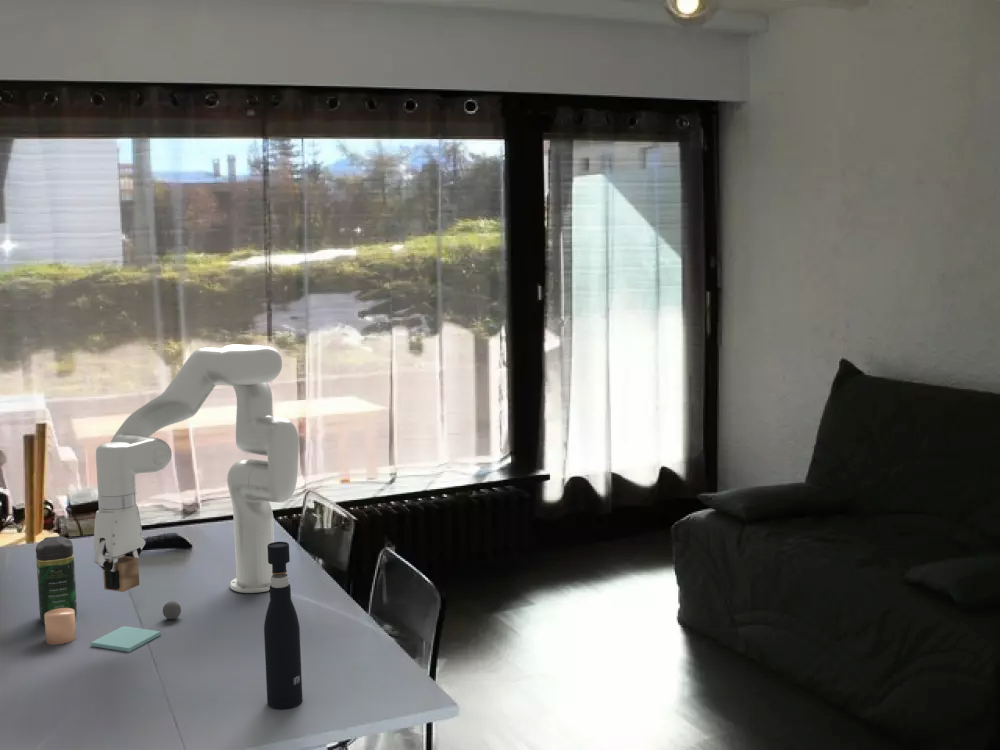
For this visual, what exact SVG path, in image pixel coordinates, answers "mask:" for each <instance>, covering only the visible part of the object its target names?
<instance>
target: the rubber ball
mask: <svg viewBox="0 0 1000 750" xmlns="http://www.w3.org/2000/svg"><path fill="white" fill-rule="evenodd" d="M181 613H182V608H181V605H180V604H179V602H176V601H174V600H172V601H168V602H166V603H165V604H164V605H163V607H162V615H163V616H164V617H165V618H166V619H168V620H175V619H177V618H178V617H179V616H180V615H181Z"/></svg>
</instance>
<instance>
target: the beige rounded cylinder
mask: <svg viewBox="0 0 1000 750" xmlns="http://www.w3.org/2000/svg"><path fill="white" fill-rule="evenodd" d="M44 618H45V624H44V629H45V630H44V631H45V642H46V644H48V645H52V646H53V645H54V646H55V645H57V644H59V645H64V643H65V644H68V643H72V642H73V641H74V640H76V639H77V628H76V617H75V611H74V609H72V608H58V609H53V610H50V611H48V612H46V613H45V614H44ZM57 646H58V645H57Z"/></svg>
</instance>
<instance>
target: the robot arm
mask: <svg viewBox="0 0 1000 750" xmlns="http://www.w3.org/2000/svg"><path fill="white" fill-rule="evenodd" d="M282 367H283V360H282V356H281V354H280V353H279V351H278V350H277V349H275V348H274V347H273V346H272V347H271V346H267V345H256V344H255V345H254V344H253V345H252V344H251V345H250V344H239V343H238V344H237V343H236V344H226V345H224V346H222V347H221V348H220V347H201V348H200V347H199V348H197V349H196V350H194V351H193V352H192V353H191V354H190V356H189V357H188V358H187V360H186V361H185V362H184V364H183V365H182V366H181V368H180V369H179V371H178V372H177V373H176V375H175V376H174V377H173V379H172V380H171V382H170V383H169V385H168V386H167V387H166V388H165V390H164V391H163V392H162V393H160V395H157V396H156V397H154V398H153V399H151V400H149V401H148V402H146V403H145V404H144V405H142V406H141V407H139V408H138V409H136V410H135V411H133V412H132V413H131V414H130V415H129V416H128V417H127V418H126V419H125V420H124V421H123V423H122V424H121V426H120V427H119V428H118V429H117V431H116V432H115V434H114V435H113V437H112V438H111V440H110V442H107V443H102V444H99V445H98V446H97V447H96V449H95V462H96V463H95V464H96V480H97V502H98V503H97V504H98V510H97V511H96V512H95V517H94V518H95V519H94V529H93V551H94V556H93V563H95V564H96V565H98V566H99V567H100V568H101V570H102V571H105V585H106V588H107V589H113V590H118V589H119V571H116V569H117V562H118V557H119V556H128V557H137V558H138V563H139V561H140V555H141V553H142V550H143V548H144V547H145V545H146V540H145V539H144V537H143V531H142V530H143V529H142V522H141V521H142V520H141V516H140V510H139V506H138V504H137V490H136V489H137V488H136V475H137V474H150V473H152V474H153V473H157V472H160V471H162V470H164V469H165V468H166V467H167V466H168V465H169V463H171V460H172V456H173V455H172V448H171V447H170V445H169V443H167V442H166V441H165V440H163V439H161V438H157V437H151V436H152V435H154V434H155V433H156V432H159V430H160V431H161V430H162V429H163V428H165V427H168V426H171V425H173V424H178V423H180V422H181V423H182V422H184V421H186V420H188V419H191V418H193V417H194V416H195V415H196V414H197V413H198V411H199V410H200V408H201V407H202V406H203V404H204V402H205V401H206V400H207V398H208V397H209V396H210V394H211V393H212V391H213V390H214V389H215V388H216V386H228V387H229V386H230V387H233V389H234V392H235V396H236V414H235V415H236V419H235V420H236V421H235V443H236V444H235V445H236V447H237V448H238V450H239V451H241V452H243V453H245V454H249V455H255V456H257V455H259V456H265V457H267V460H262V459H252V458H249V459H248V458H246V459H240V460H238V461H237V462H235V463H234V464H232V466H230V468H229V470H228V471H227V472H228V473H227V477H226V478H227V480H226V481H227V488H228V492H229V495H230V501H231V505H232V514H233V515H232V516H233V534H234V535H233V536H234V537H233V538H234V554H235V556H234V558H235V576H236V577H235V578H234V579H232V580H230V582H229V586H230V589H231V590H232V591H234V592H237V593H241V594H242V593H244V594H255V593H256V594H257V593H263V592H264V593H265V592H270V591H269V590H270V585H271V580H270V579H271V576H272V575H273V573H272V564H269V563H268V547H267V545H268V544H270V543H273V542H275V532H274V531H275V529H274V525H275V524H274V521H275V520H274V514H273V509H272V505H271V504H270V502H271V503H285V502H287V501H288V500H290V499H291V498H292V496H293V495H294V493H295V491H296V489H297V488H296V487H297V482H298V466H299V445H300V444H299V443H300V442H299V439H300V438H299V433H298V431H297V430H298V429H297V428H296V426H295V424H294V422H292V421H291V420H289V419H287V418H284V417H278V416H277V417H276V416H273V393H272V389H271V386H270V384H269V382H271V381H272V382H273V381H274V380H275V379H276V378H277V377H278V376H279V375H280V373H281V371H282V369H283V368H282ZM109 559H112V562H111V564H110V563H109Z"/></svg>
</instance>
